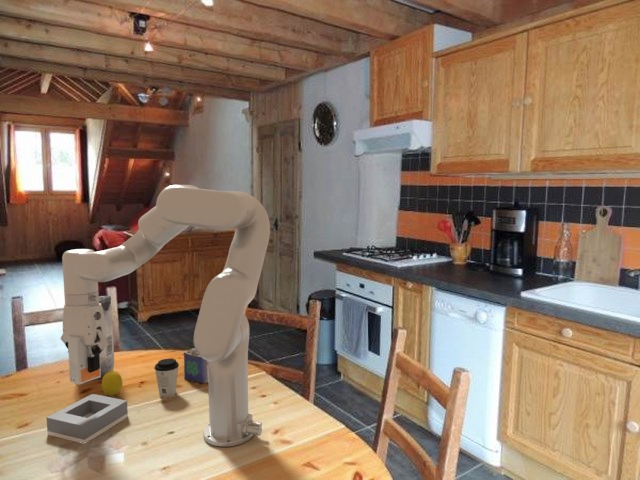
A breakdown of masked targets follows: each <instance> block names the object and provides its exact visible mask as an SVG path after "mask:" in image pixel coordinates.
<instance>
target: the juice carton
mask: <svg viewBox="0 0 640 480" xmlns="http://www.w3.org/2000/svg"><path fill="white" fill-rule="evenodd" d="M98 296H99V295H98ZM99 297H100V300H99V303H100V304H101V305H102V308H103V312H104V317H105V324H106V340H107V341H108V346H106V347H105V348H104V349H103V350H102V352H101V354H100V367H101V377H100V378H99V379H103V377H104V375H105V374H106V373H108V372H110V371H111V370H113V371H114V368H115V351H114V345H115V344H114V331H113V330H114V329H113V312H112V297H111V295H100V296H99Z"/></svg>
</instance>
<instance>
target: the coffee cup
mask: <svg viewBox="0 0 640 480" xmlns="http://www.w3.org/2000/svg"><path fill="white" fill-rule="evenodd" d="M179 366H180V363H178V361H177V360H176V359H175V358H171V357H170V358H163V359H160V360H159V361H158V362H157V363H156V364H155V365H154V367H153V368H154V371H155V376H156V381H157V387H158V394H159V397H160V398H171V397H173V396H175V395H176V394H177V384H178V373H179Z"/></svg>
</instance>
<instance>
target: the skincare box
mask: <svg viewBox="0 0 640 480" xmlns="http://www.w3.org/2000/svg"><path fill="white" fill-rule="evenodd" d="M92 347H93V350H94V349H95V346H92ZM68 351H69V353H68V366H69V368H68V369H69V374H68V375H69V382H70V383H73V384H75V385H82V384H85V383H88V382H90V381H93V380H97V379H101V378H100V377H101V367H100V369H98V370H96V371H94V372H92V373H89V372H88V361H87V357H90V356H89V353H88V349H87V346H86V345H83V343H82V338H81V337H76V336H70V335H69V336H68V348H67V352H68ZM99 357H100V354H99Z"/></svg>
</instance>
